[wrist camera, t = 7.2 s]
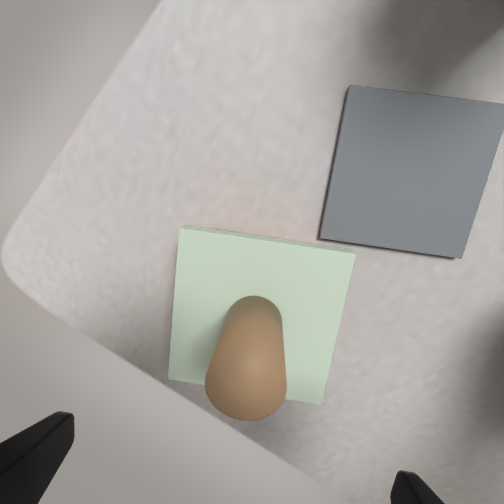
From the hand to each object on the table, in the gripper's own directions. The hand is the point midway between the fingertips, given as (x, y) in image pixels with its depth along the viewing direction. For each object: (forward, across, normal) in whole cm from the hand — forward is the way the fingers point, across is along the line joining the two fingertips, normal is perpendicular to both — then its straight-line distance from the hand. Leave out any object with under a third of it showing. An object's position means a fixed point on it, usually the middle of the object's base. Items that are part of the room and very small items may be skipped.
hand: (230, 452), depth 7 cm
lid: (+9, 0, 0) cm, 9 cm away
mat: (+12, -8, -9) cm, 17 cm away
